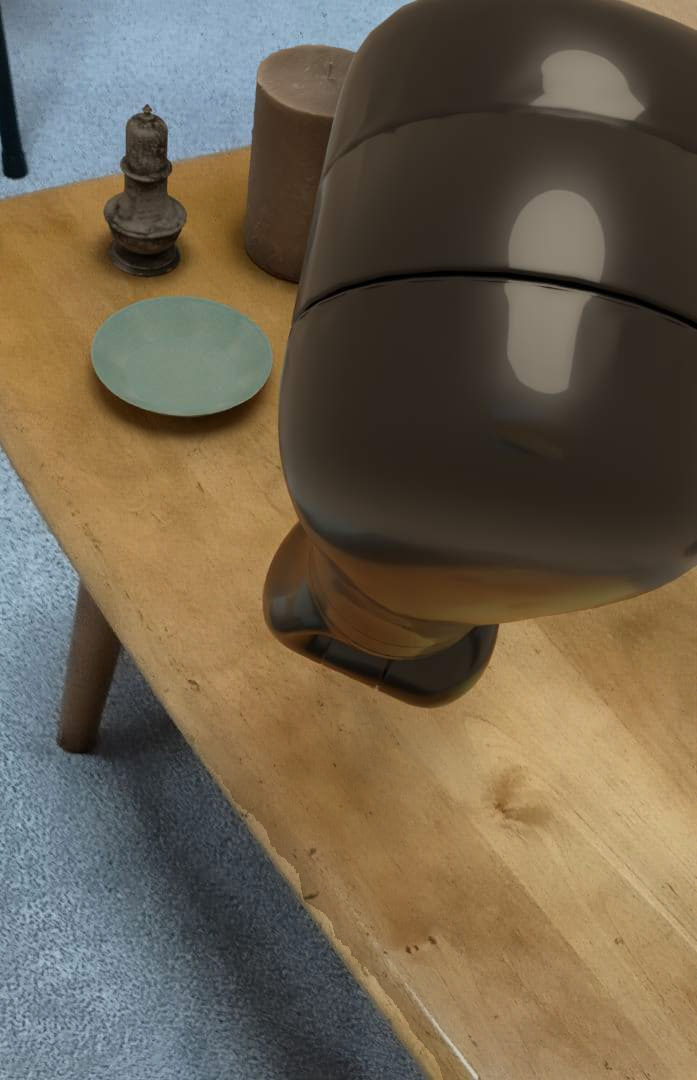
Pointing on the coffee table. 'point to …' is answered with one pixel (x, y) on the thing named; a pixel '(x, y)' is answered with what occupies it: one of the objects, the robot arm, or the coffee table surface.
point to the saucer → (181, 356)
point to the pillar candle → (290, 151)
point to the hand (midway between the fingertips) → (548, 229)
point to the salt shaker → (145, 203)
